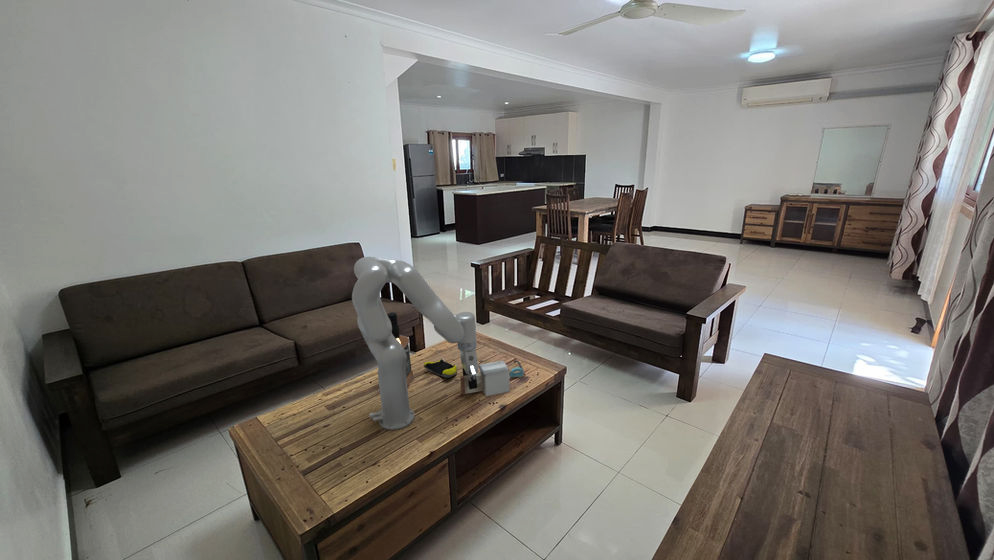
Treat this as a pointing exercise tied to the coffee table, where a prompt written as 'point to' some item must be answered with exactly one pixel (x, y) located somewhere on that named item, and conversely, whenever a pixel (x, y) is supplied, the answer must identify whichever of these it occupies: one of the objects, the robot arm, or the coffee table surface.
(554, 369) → the coffee table surface
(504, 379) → the block
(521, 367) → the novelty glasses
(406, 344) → the whiskey bottle
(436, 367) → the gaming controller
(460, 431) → the coffee table surface
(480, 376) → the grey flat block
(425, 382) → the coffee table surface
